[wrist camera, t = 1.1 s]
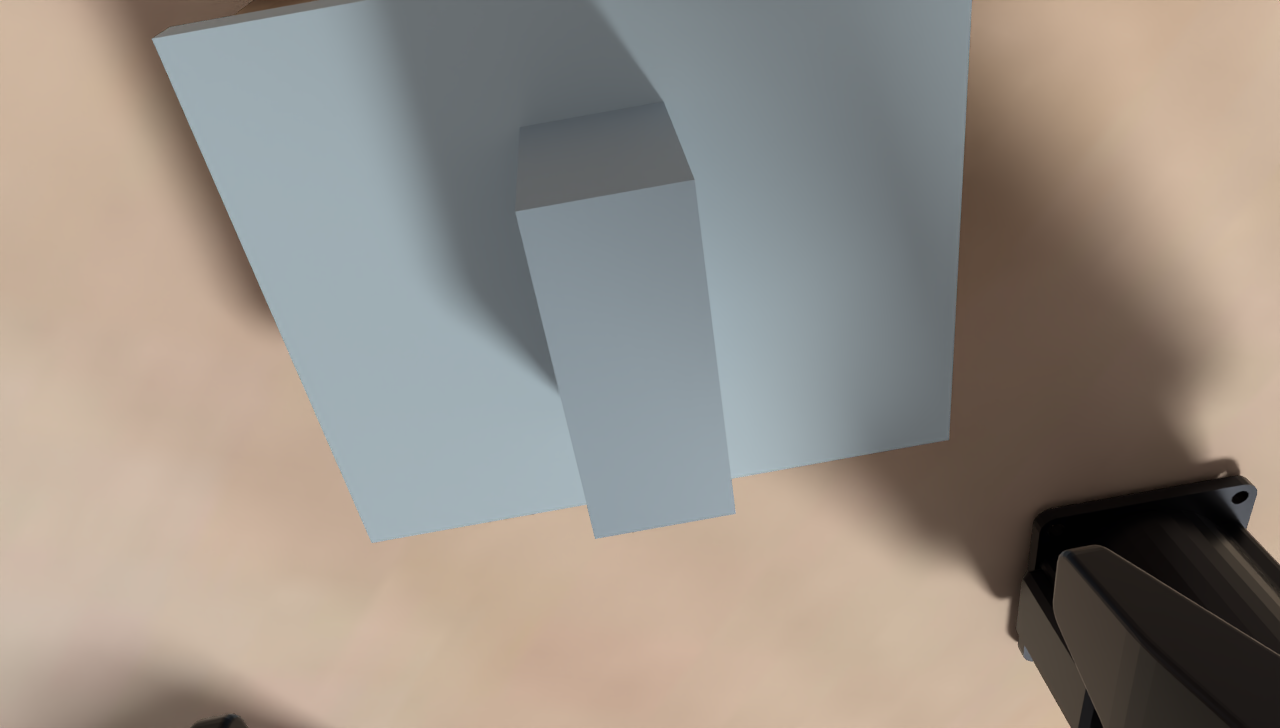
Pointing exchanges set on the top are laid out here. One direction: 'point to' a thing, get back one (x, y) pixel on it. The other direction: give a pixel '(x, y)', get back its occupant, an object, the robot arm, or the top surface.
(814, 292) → the lid
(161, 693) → the top surface
